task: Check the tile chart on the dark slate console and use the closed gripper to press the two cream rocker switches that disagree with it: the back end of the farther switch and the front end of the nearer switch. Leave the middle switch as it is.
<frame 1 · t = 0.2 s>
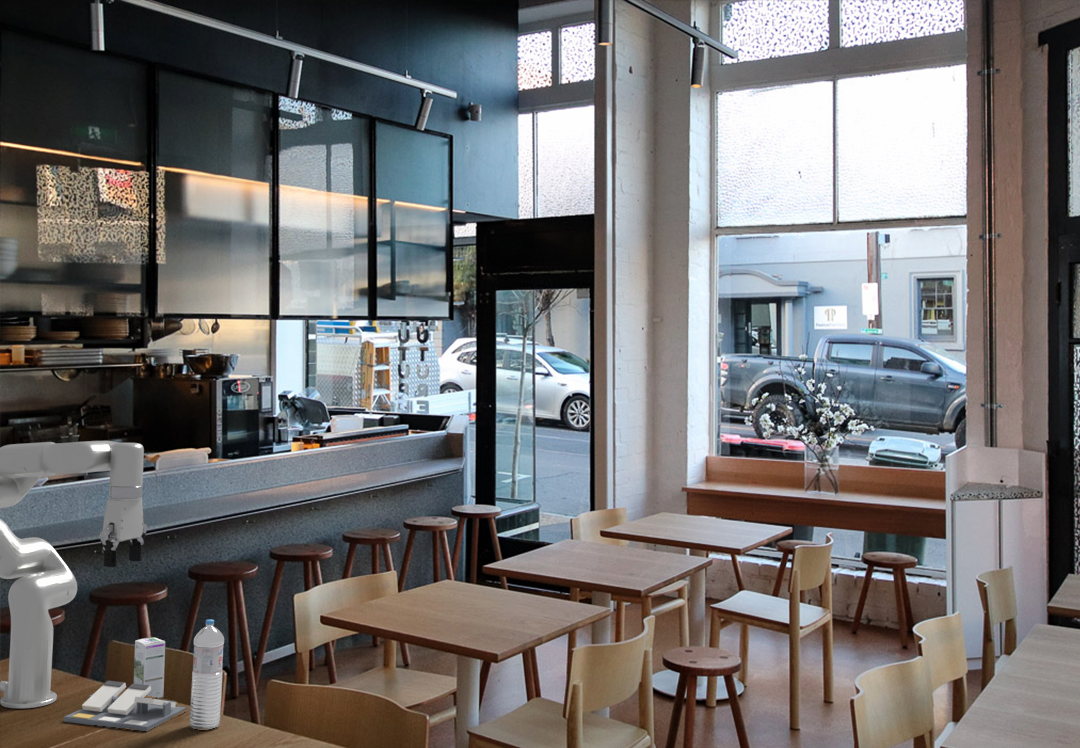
hand: (123, 563, 251), 36 cm above the table, tool pointing down, fingers open, 9 cm apart
water bottle: (204, 727, 243), on the table
switch 2: (155, 701, 247), point 4 cm above the table, hinge at -20.0°
switch mid: (129, 698, 249), point 4 cm above the table, hinge at 20.0°
syrup box: (147, 697, 264), on the table
console: (126, 716, 248), on the table
switch 1: (104, 695, 250), point 4 cm above the table, hinge at 20.0°
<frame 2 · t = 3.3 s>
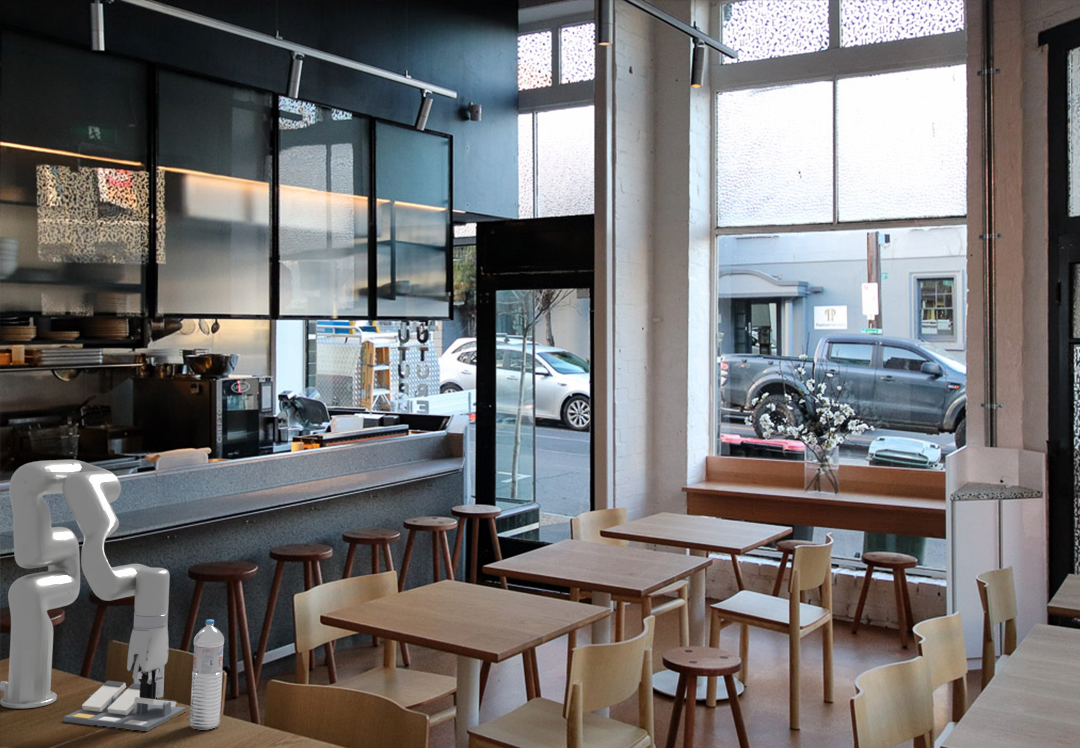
hand: (147, 699, 244), 6 cm above the table, tool pointing down, fingers closed
switch 2: (155, 701, 247), point 4 cm above the table, hinge at -18.8°, touching gripper
everything else where it was.
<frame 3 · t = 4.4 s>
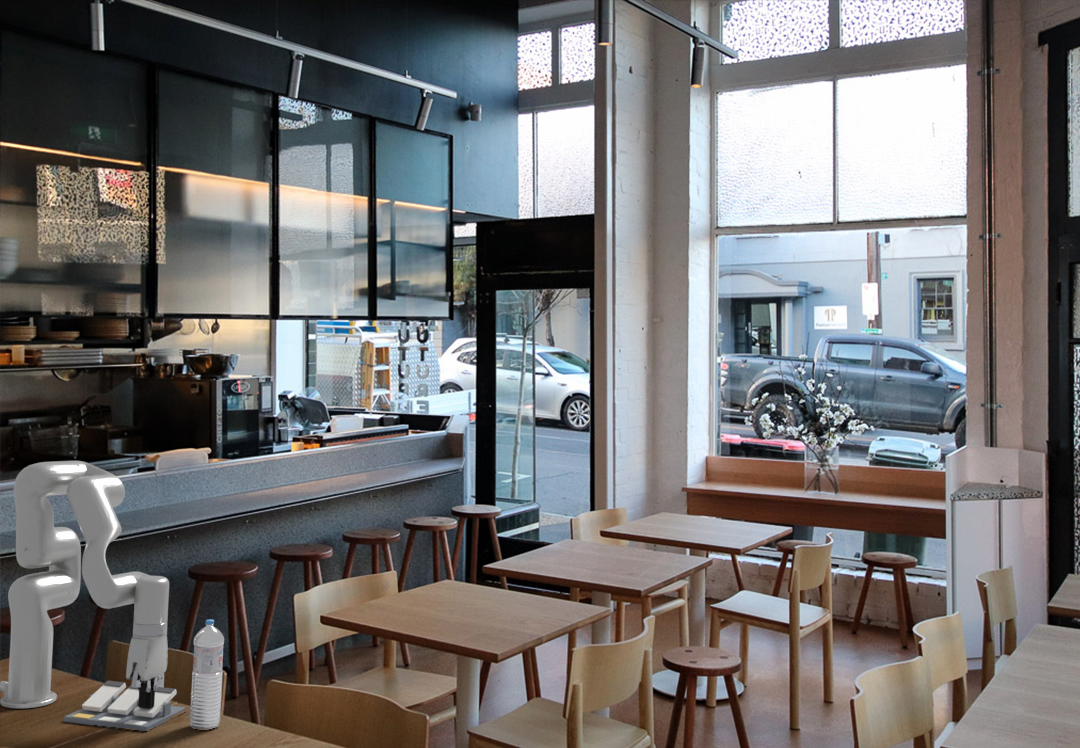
hand: (146, 707, 244), 4 cm above the table, tool pointing down, fingers closed
switch 2: (155, 701, 247), point 4 cm above the table, hinge at 17.9°
everything else where it was.
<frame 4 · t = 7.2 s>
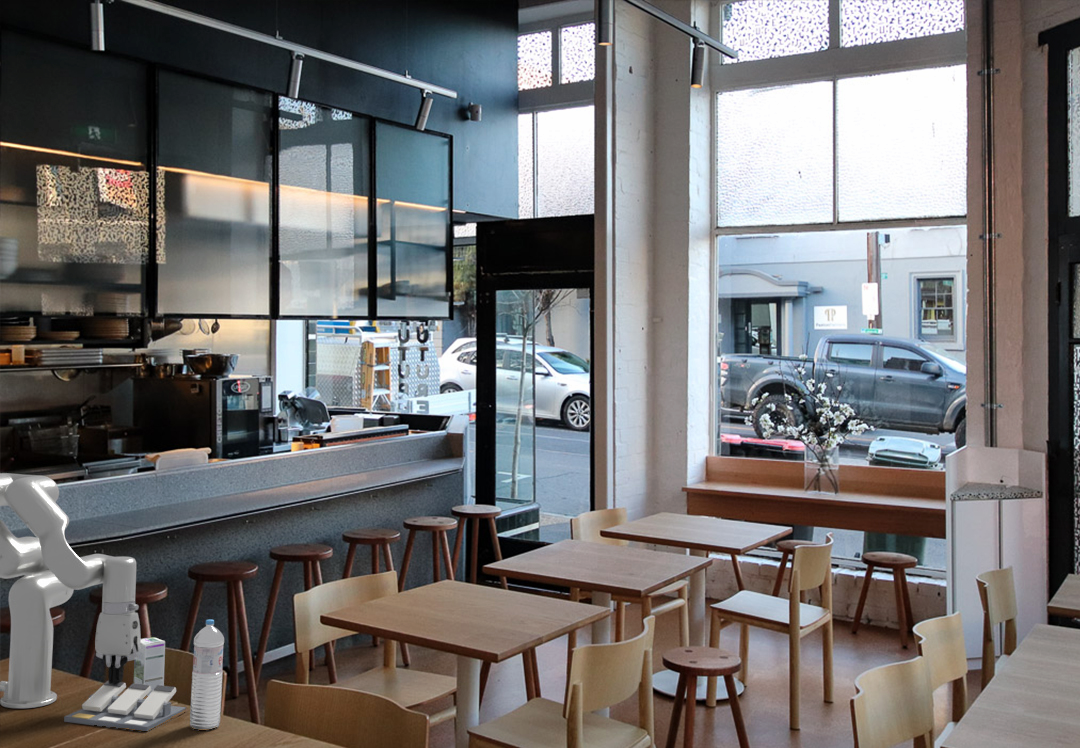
hand: (115, 682, 254), 6 cm above the table, tool pointing down, fingers closed
switch 2: (155, 701, 247), point 4 cm above the table, hinge at 25.2°
switch 1: (104, 695, 250), point 4 cm above the table, hinge at 19.7°, touching gripper
everything else where it was.
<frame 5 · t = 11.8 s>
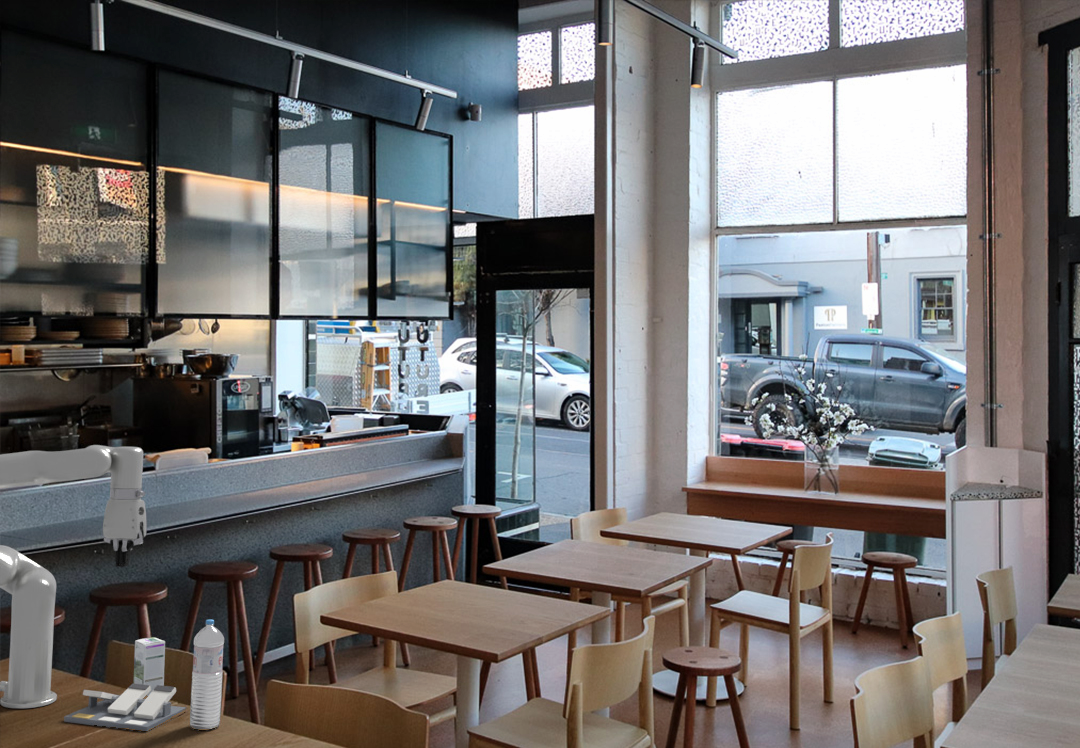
hand: (122, 566, 265), 33 cm above the table, tool pointing down, fingers closed
switch 1: (104, 695, 250), point 4 cm above the table, hinge at -22.0°
everything else where it was.
at the end: switch 2 at +25° (first picture: -20°); switch 1 at -22° (first picture: +20°); switch mid at +20° (first picture: +20°) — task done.
